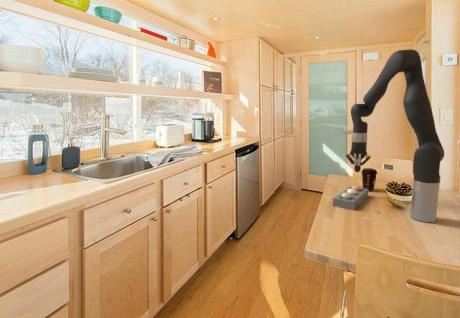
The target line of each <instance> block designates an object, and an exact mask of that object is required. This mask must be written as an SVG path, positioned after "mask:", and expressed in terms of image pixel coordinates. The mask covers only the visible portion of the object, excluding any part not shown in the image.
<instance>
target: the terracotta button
mask: <svg viewBox="0 0 460 318" xmlns="http://www.w3.org/2000/svg"><path fill="white" fill-rule="evenodd" d="M351 187H352V189H355V190H356V191H359V192H361V188H362V185H361V186H360V185H358V184H356V185H352V186H351Z"/></svg>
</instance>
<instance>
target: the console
mask: <svg viewBox="0 0 460 318" xmlns="http://www.w3.org/2000/svg"><path fill="white" fill-rule="evenodd" d="M347 189H352V186H348V187H346V189H344V190H343V191H341V192H339V194H337V195H336V196H334V197H333V198H332V207H336V206H338V207H337V208H341V207H342V208H341V209H345V210H346V209H347V210H350V209H351V210H352V211H354V210H355V209H356V208H357V207H358V206H359V205H360V204H362V202H364V201H365V200H366V199H367V198H368V197H369V191H368V190H369V189H363V187H361V192H359V191H356V196H354V195H351V200H347V199H342V193H347Z"/></svg>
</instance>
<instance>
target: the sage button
mask: <svg viewBox="0 0 460 318" xmlns="http://www.w3.org/2000/svg"><path fill="white" fill-rule="evenodd" d="M342 199H347V200H351V194H350V193H342Z"/></svg>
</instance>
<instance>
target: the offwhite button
mask: <svg viewBox="0 0 460 318" xmlns="http://www.w3.org/2000/svg"><path fill="white" fill-rule="evenodd" d="M346 189H347V188H346ZM347 193H350V194H351V195H354V196H356V190H355V189H347Z"/></svg>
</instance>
